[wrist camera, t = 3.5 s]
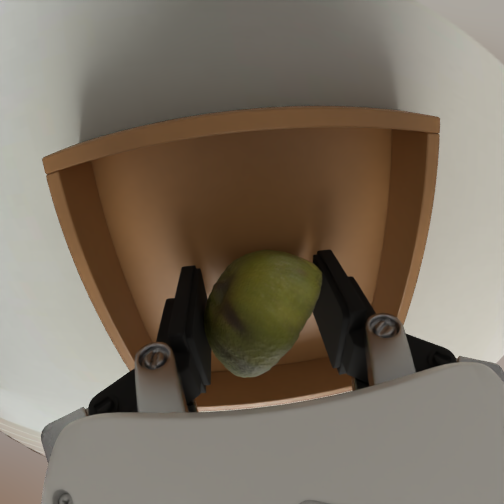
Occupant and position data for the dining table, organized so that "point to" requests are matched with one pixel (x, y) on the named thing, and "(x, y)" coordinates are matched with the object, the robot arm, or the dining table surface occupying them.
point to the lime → (260, 309)
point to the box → (248, 219)
